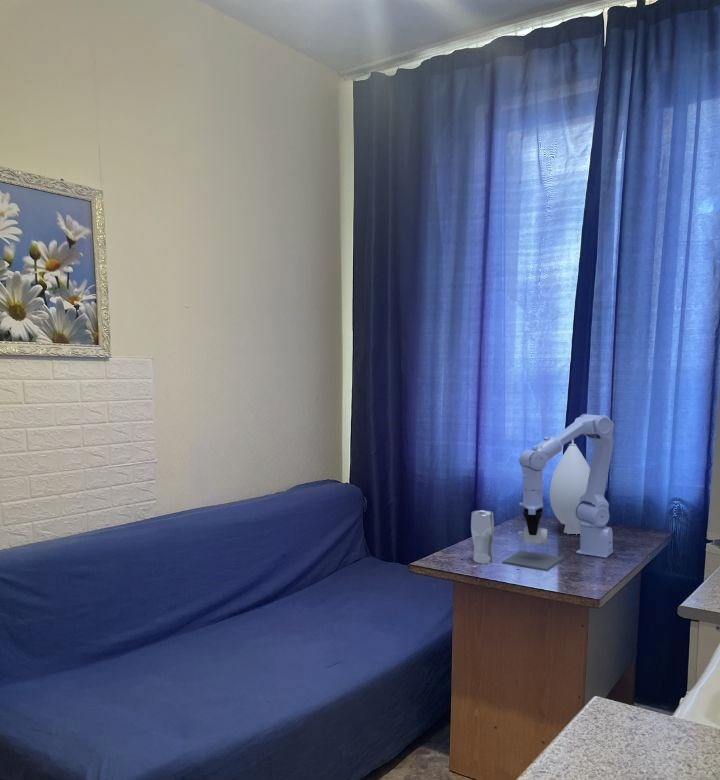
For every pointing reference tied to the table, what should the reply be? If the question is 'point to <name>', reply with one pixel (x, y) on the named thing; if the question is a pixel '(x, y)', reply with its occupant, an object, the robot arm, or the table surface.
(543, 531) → the connector
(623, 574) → the table surface
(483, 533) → the beer glass
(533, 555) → the mat
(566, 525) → the lamp
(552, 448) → the robot arm
